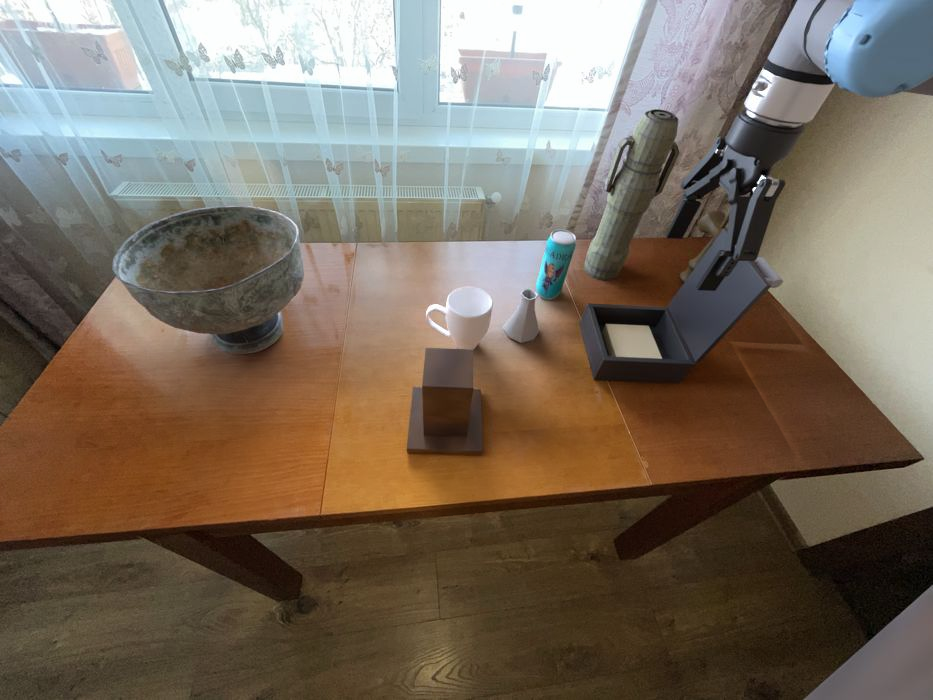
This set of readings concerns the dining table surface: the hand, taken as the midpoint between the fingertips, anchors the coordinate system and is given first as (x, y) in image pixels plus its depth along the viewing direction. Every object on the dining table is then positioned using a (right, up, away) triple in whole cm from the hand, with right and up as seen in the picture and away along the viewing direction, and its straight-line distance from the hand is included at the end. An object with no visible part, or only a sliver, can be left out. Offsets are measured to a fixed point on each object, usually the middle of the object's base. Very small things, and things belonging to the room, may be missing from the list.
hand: (688, 261), depth 64 cm
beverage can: (-17, -1, +28) cm, 33 cm away
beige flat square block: (-3, -14, +16) cm, 22 cm away
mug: (-38, -13, +16) cm, 43 cm away
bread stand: (-39, -26, +4) cm, 47 cm away
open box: (-3, -15, +17) cm, 23 cm away
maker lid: (+7, -5, +6) cm, 10 cm away
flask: (-24, -10, +19) cm, 33 cm away
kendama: (+19, +3, +34) cm, 39 cm away
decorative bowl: (-78, -10, +15) cm, 80 cm away
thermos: (-2, +6, +35) cm, 36 cm away
